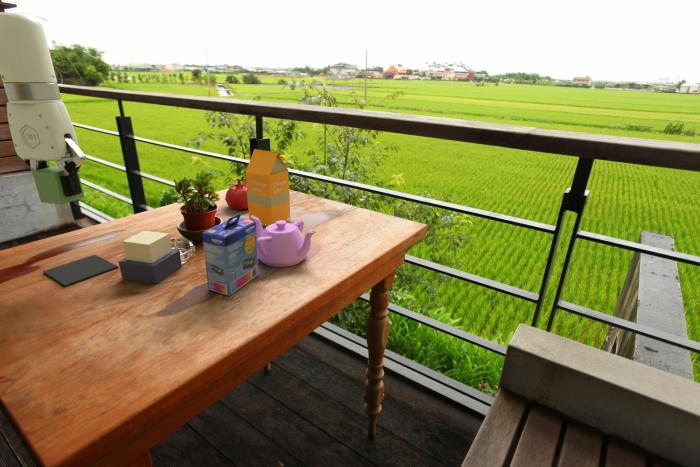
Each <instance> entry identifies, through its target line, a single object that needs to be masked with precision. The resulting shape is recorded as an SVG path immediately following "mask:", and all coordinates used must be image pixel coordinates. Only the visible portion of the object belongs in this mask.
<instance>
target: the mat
mask: <svg viewBox="0 0 700 467" xmlns="http://www.w3.org/2000/svg"><path fill="white" fill-rule="evenodd" d="M116 269H119V265H117V264H114V263H112V262H111V261H109V260H107V259H105V258H103V257H101V256H99V255H97V254H92V255H89V256H85V257H83V258H79V259H76V260H73V261H70V262H67V263H64V264H60V265H58V266H55V267H51V268H48V269H45V270H43V271H42V273H43V274H44V275H46V276H48V277H49V278H51V279H52V280H54V281H55V282H57V283H59V284H60V285H62V286H63V287H66V288H67V287H69V286H72V285H75V284H78V283H81V282H83V281H86V280H88V279H92V278H94V277H97V276H99V275H102V274H105V273H108V272H111V271H113V270H116Z"/></svg>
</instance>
